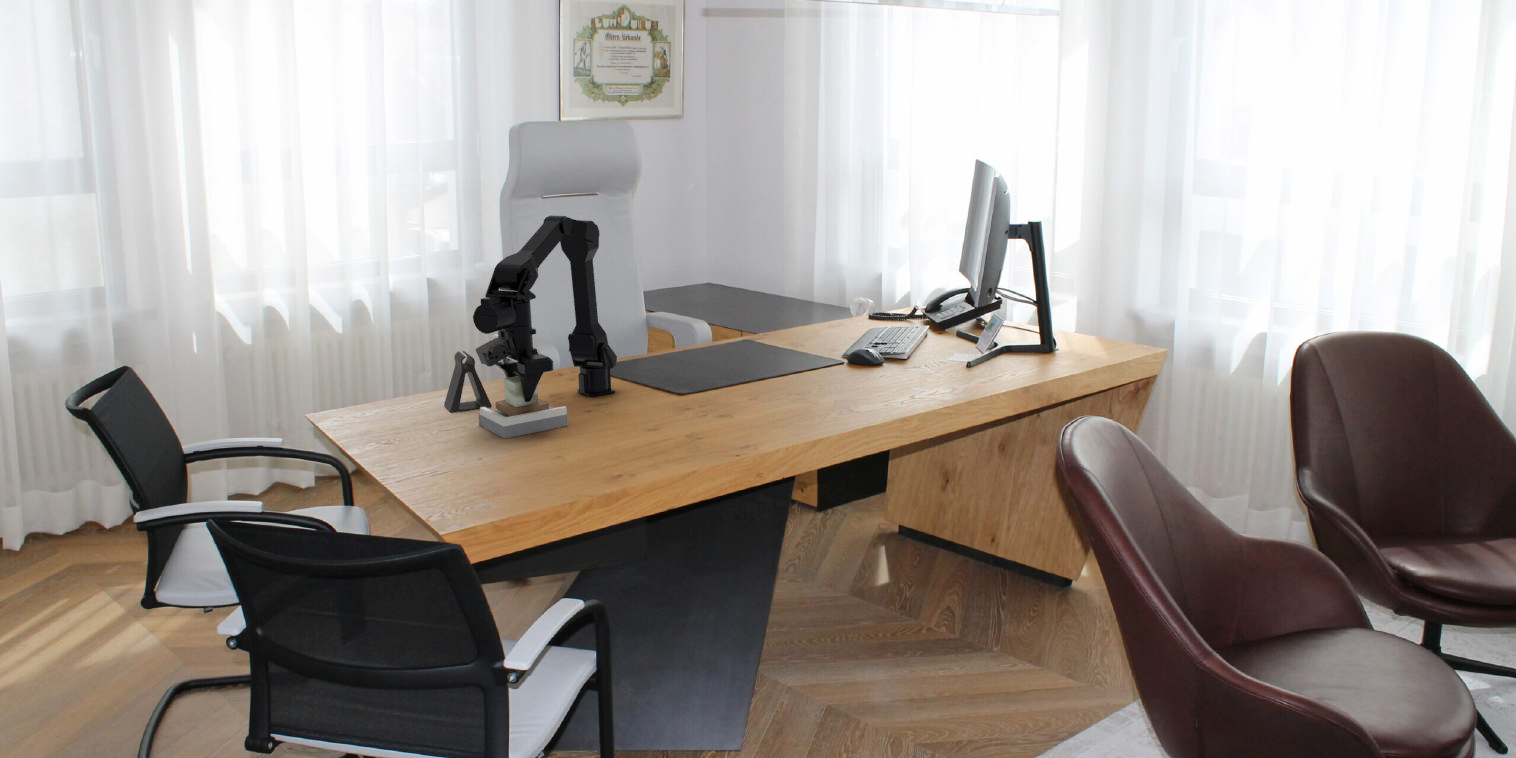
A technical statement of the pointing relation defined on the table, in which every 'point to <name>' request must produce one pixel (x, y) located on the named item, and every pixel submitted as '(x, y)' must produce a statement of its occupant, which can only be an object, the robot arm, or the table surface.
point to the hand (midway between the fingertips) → (521, 399)
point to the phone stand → (458, 381)
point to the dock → (522, 421)
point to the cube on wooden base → (519, 399)
